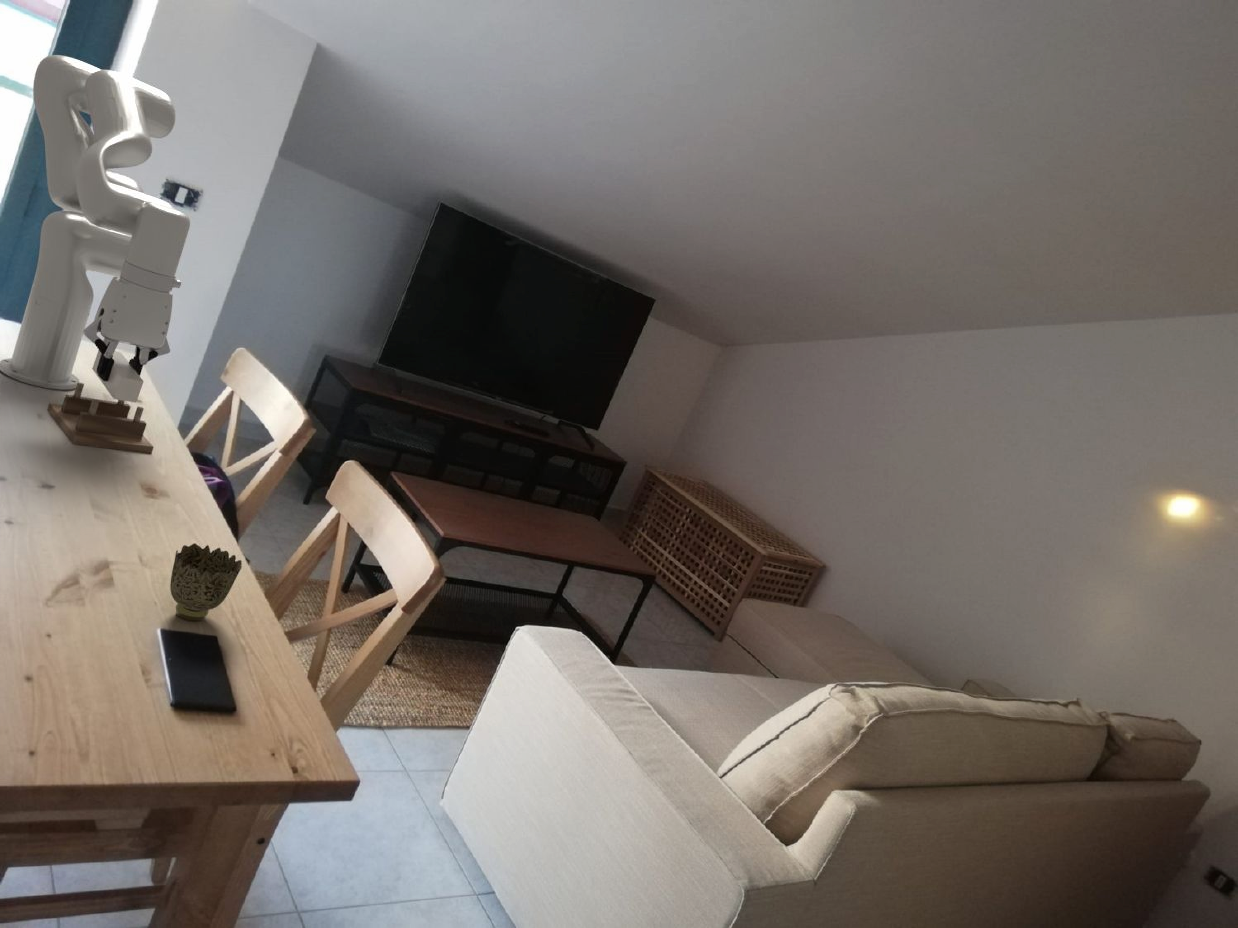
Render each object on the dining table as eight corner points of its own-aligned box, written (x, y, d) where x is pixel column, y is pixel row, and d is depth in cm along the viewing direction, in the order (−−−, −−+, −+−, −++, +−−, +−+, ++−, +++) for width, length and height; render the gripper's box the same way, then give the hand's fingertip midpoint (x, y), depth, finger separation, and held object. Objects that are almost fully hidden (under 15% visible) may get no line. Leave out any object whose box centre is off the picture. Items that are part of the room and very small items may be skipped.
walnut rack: (47, 409, 147) (58, 373, 146) (122, 420, 157) (132, 386, 156) (74, 444, 138) (85, 406, 137) (151, 453, 148) (163, 417, 147)
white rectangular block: (92, 368, 148) (99, 348, 147) (113, 372, 151) (121, 352, 150) (113, 399, 141) (121, 377, 140) (136, 402, 144) (143, 381, 143)
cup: (178, 593, 108) (197, 537, 107) (233, 616, 108) (252, 560, 107) (143, 614, 101) (163, 553, 99) (202, 638, 101) (223, 578, 100)
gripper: (188, 286, 151) (158, 382, 154) (84, 258, 138) (54, 364, 142) (205, 298, 147) (174, 397, 150) (100, 270, 134) (68, 379, 137)
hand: (116, 380), depth 146 cm, fingers closed on white rectangular block, 3 cm apart
